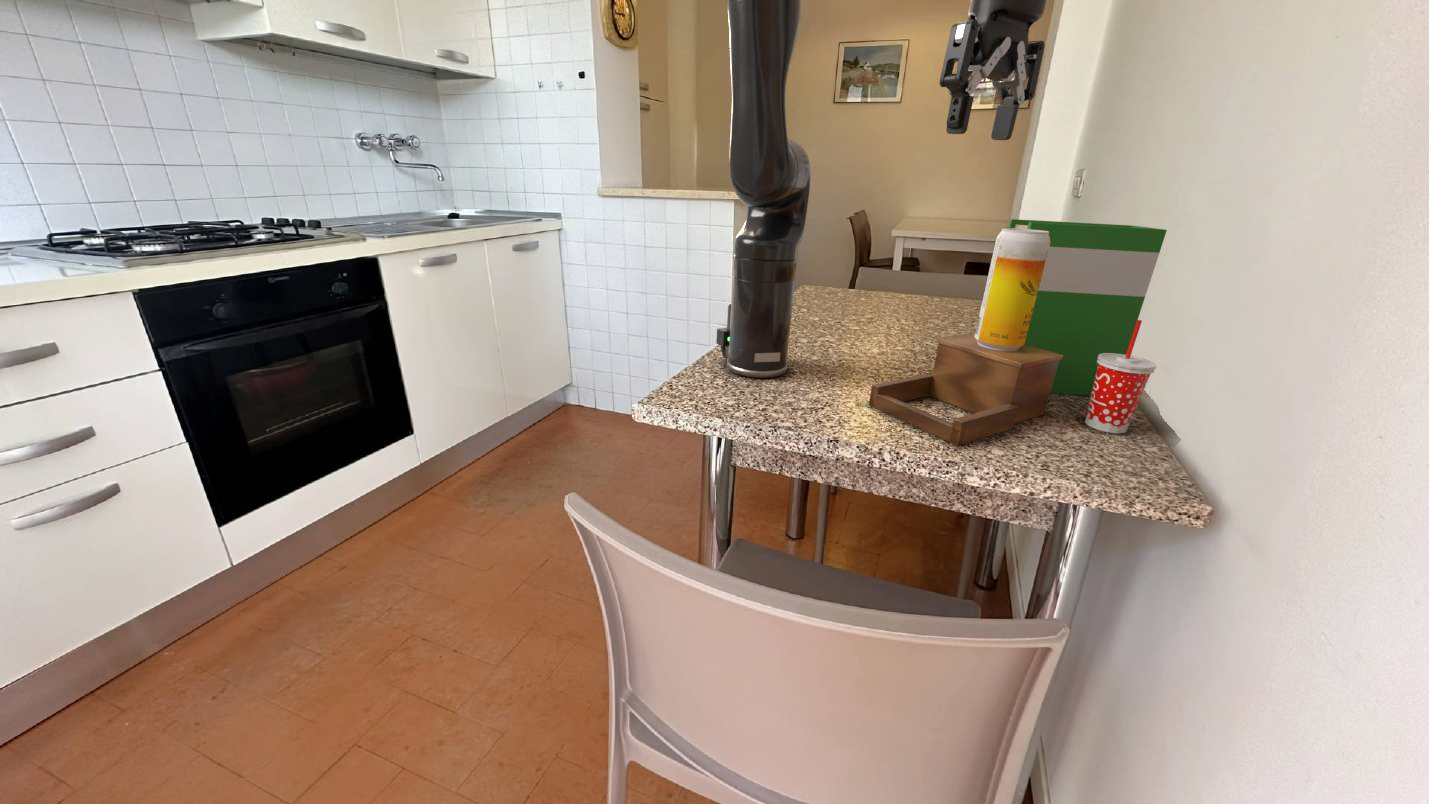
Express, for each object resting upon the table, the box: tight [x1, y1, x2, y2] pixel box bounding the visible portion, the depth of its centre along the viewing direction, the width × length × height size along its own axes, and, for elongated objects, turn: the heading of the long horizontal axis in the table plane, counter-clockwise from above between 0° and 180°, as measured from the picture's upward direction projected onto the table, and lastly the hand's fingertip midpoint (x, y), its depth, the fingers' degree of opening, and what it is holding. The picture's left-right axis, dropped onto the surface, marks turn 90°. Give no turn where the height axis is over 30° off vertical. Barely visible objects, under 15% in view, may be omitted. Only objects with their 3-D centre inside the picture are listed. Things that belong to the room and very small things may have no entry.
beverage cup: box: [1084, 319, 1157, 434], centre depth 72 cm, size 6×6×14 cm
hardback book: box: [1007, 218, 1168, 396], centre depth 85 cm, size 18×7×24 cm, turn 86°
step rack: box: [868, 332, 1063, 447], centre depth 75 cm, size 14×20×8 cm
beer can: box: [974, 227, 1050, 351], centre depth 74 cm, size 6×6×15 cm
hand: (978, 136), depth 66 cm, fingers open, 8 cm apart
